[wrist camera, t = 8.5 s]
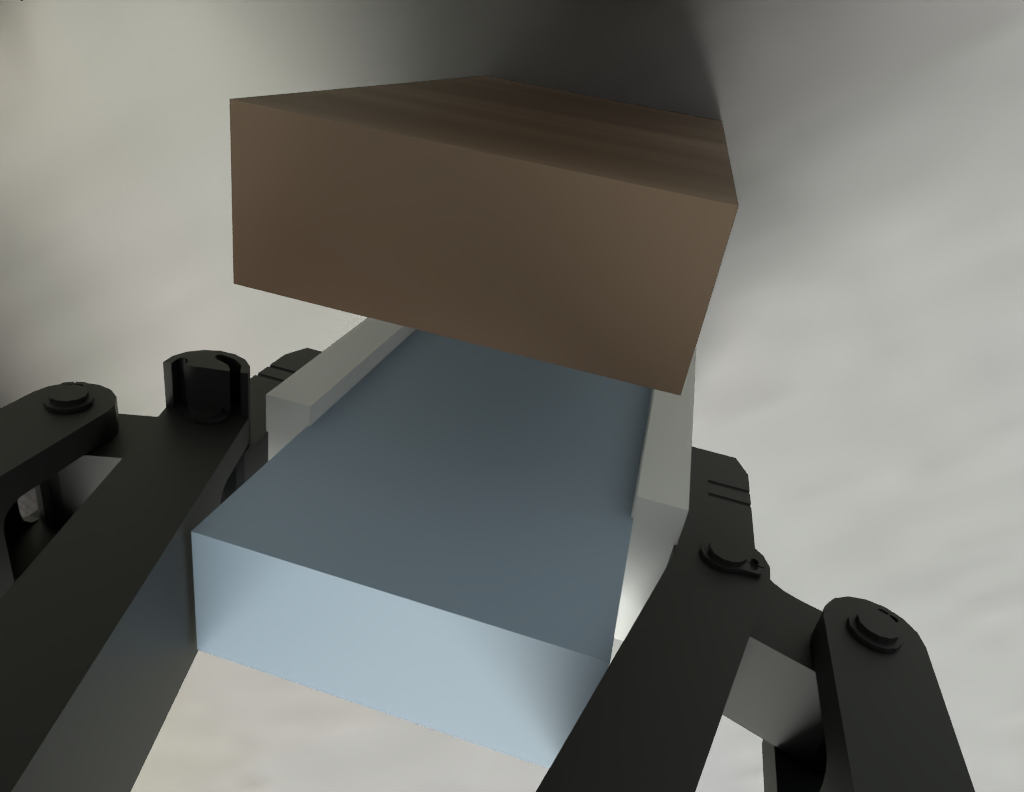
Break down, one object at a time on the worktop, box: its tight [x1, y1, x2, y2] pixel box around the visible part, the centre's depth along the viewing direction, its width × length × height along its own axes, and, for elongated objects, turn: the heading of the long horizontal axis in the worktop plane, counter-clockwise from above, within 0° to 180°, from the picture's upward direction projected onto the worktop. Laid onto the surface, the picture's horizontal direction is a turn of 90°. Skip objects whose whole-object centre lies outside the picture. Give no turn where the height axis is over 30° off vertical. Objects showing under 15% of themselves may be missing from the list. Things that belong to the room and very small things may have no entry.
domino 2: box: [191, 329, 653, 769], centre depth 13 cm, size 2×5×10 cm, turn 81°
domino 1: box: [230, 76, 738, 396], centre depth 12 cm, size 2×5×10 cm, turn 81°
